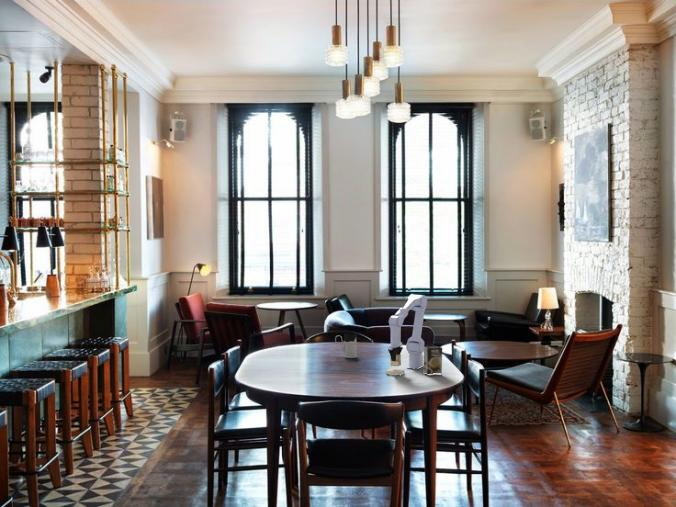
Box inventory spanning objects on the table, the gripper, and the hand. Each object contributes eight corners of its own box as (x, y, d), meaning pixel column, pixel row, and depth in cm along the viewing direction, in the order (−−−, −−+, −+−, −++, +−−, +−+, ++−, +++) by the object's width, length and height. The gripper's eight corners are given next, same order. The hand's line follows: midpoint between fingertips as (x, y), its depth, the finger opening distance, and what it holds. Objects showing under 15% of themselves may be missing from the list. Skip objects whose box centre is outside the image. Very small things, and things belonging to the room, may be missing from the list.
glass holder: (357, 357, 430) (357, 334, 430) (334, 357, 430) (335, 334, 430) (356, 355, 439) (357, 332, 438) (335, 354, 439) (335, 332, 439)
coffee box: (427, 376, 380) (427, 348, 379) (423, 373, 386) (423, 346, 385) (442, 375, 382) (442, 347, 382) (437, 373, 389) (438, 345, 388)
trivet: (391, 372, 390) (391, 367, 390) (404, 373, 386) (404, 369, 386) (385, 374, 383) (385, 370, 383) (398, 376, 379) (398, 371, 379)
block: (393, 364, 388) (393, 354, 387) (400, 365, 385) (400, 354, 385) (390, 365, 384) (390, 355, 383) (397, 366, 381) (397, 356, 381)
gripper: (396, 339, 376) (396, 363, 376) (407, 335, 388) (406, 358, 389) (385, 338, 379) (385, 361, 380) (395, 334, 392) (395, 357, 392)
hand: (395, 360), depth 385 cm, fingers closed on block, 4 cm apart
